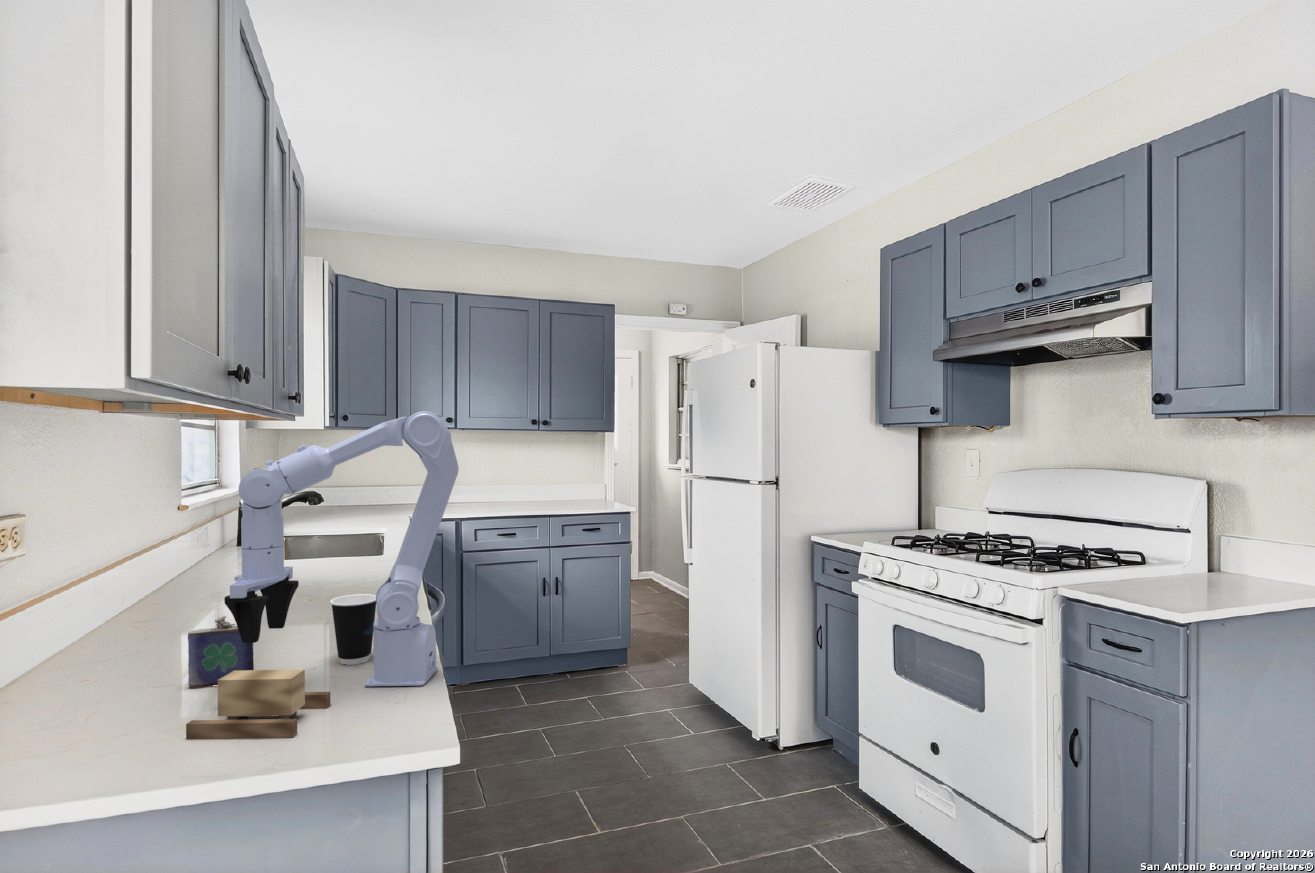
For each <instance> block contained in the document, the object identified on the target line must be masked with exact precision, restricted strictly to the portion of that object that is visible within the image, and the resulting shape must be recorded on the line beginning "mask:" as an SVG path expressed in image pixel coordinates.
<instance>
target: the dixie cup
mask: <svg viewBox="0 0 1315 873" xmlns="http://www.w3.org/2000/svg"><path fill="white" fill-rule="evenodd" d="M329 604H330V605H331V609H332V618H333V626H334V635H335V642H336V649H337V657H338V659H339V662H340V664H341V665H344V664H346V665H345V666H347V665H348V666H352V665H359V664H363V663H366V662H368V661H369V660H370V656H371V654H372V647H373V640H374V635H373V627H374V626H373V624H374V622H375V621H376V620H375V619H376V618H375V617H376V612H377V604H376V594H370V593H357V594H349V595H348V594H347V595H342V596H337V597H333V598H332V599H331V600H330V601H329Z"/></svg>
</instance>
